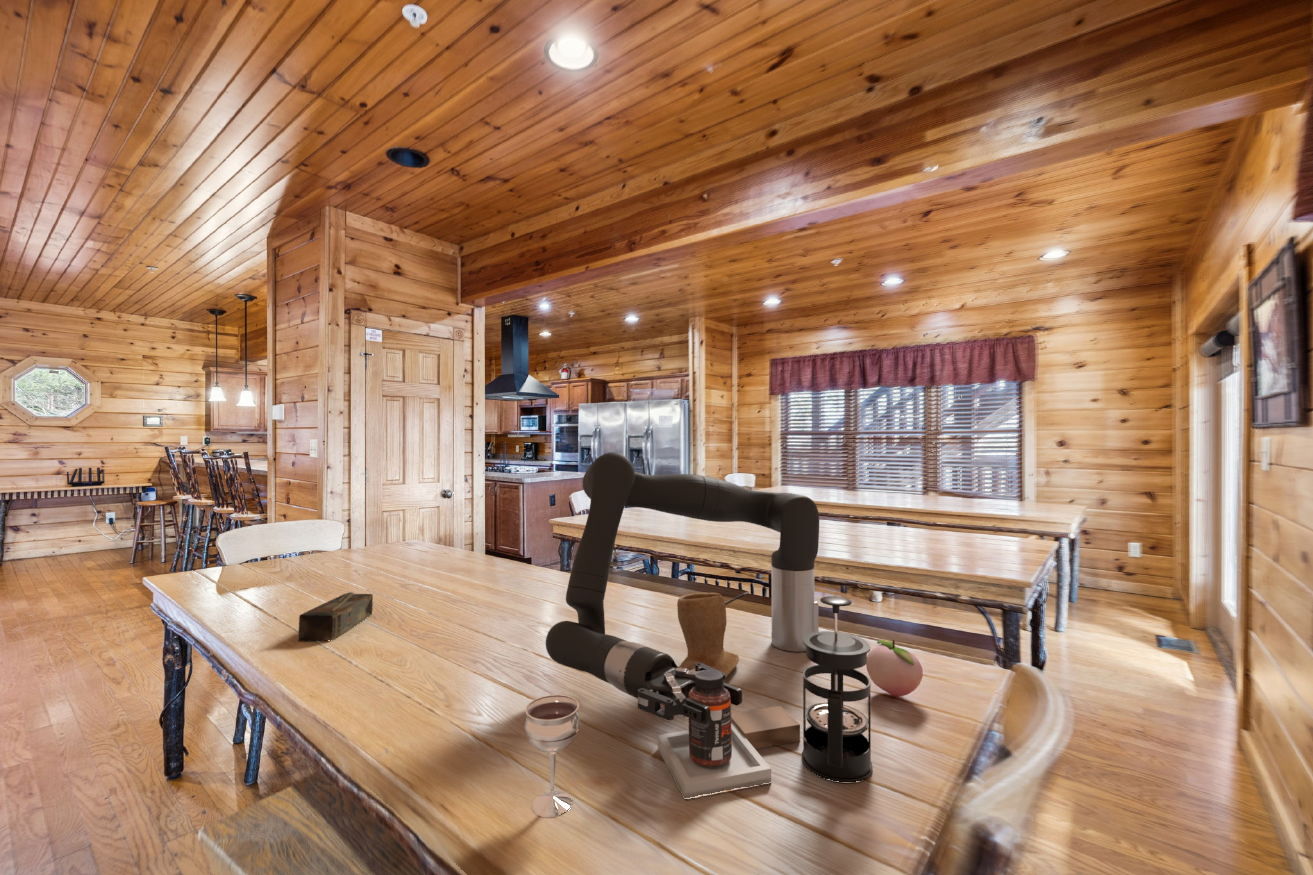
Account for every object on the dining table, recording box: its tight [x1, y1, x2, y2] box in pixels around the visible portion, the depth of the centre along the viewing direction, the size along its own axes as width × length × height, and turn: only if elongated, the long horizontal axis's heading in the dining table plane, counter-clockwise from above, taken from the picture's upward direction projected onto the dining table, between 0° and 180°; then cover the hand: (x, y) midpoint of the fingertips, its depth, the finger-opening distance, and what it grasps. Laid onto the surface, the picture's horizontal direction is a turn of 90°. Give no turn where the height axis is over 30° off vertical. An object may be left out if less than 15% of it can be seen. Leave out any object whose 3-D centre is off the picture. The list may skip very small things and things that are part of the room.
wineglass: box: [524, 694, 581, 818], centre depth 68 cm, size 7×7×12 cm
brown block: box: [731, 705, 801, 750], centre depth 84 cm, size 9×6×2 cm, turn 106°
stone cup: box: [676, 592, 740, 679], centre depth 107 cm, size 15×12×15 cm
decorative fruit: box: [865, 639, 924, 698], centre depth 96 cm, size 9×8×10 cm
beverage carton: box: [298, 591, 374, 642], centre depth 132 cm, size 8×19×7 cm, turn 1°
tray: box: [657, 723, 772, 799], centre depth 76 cm, size 12×12×2 cm
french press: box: [801, 595, 874, 782], centre depth 76 cm, size 12×9×23 cm
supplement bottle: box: [687, 670, 732, 767], centre depth 77 cm, size 6×6×11 cm
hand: (724, 706), depth 75 cm, fingers open, 6 cm apart
